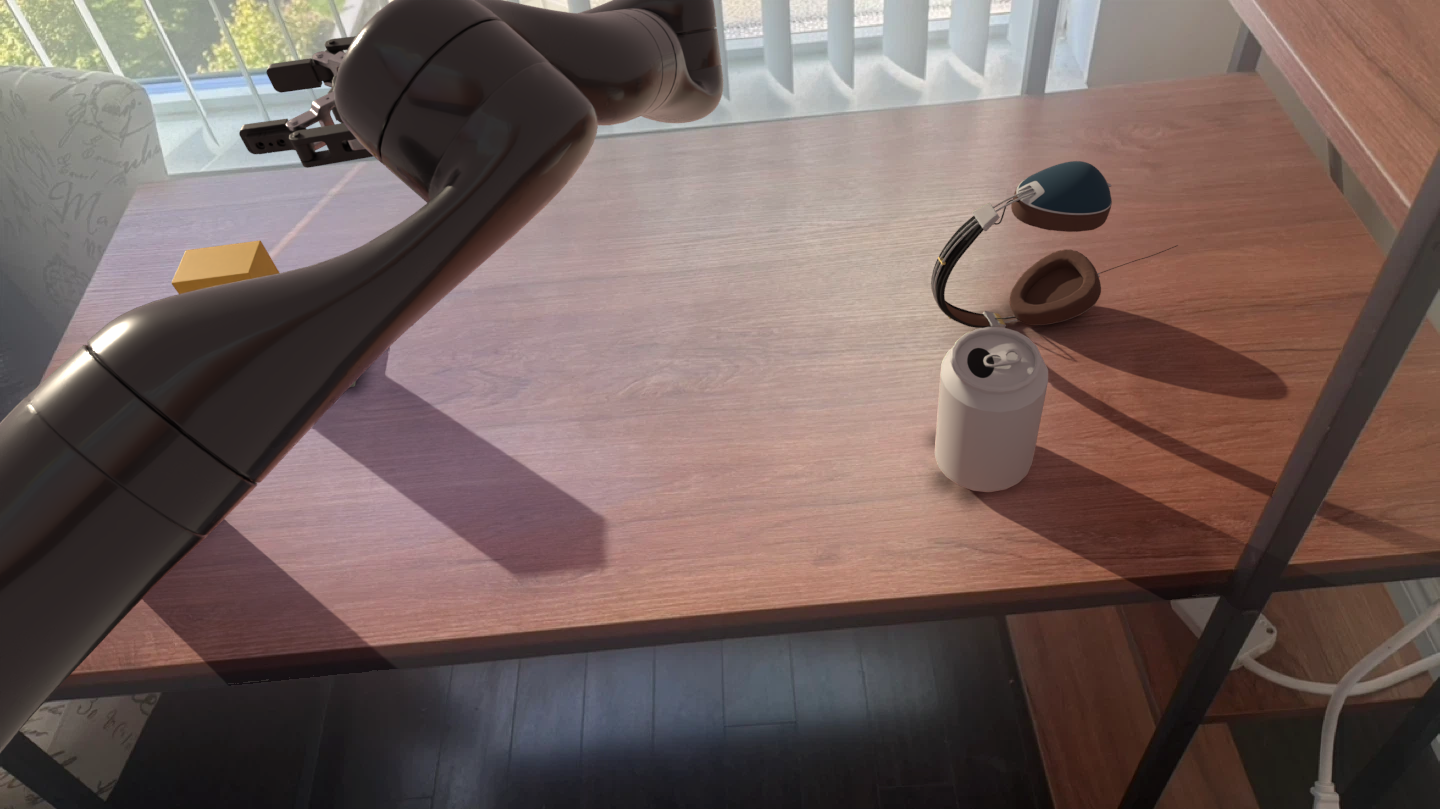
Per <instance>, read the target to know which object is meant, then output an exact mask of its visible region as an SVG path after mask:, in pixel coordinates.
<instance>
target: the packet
mask: <svg viewBox="0 0 1440 809" xmlns="http://www.w3.org/2000/svg"><path fill="white" fill-rule="evenodd" d="M279 273H280V271H279V269H278V268H277V266H276V264H275V262H274V261H273V258H272V257H271V255H270V254H269V252H268V250H267V249H266V247H265V245H264V244H263V242H262V240H260V239H259V240H252V241H245V242H236V243H229V244H222V245H215V246H214V245H213V246H207V247H199V248H190V249H185V251H184V253H183V255H182V258H181V260H180V263H179V264H178V267H177V269H176V271H175V273H174V276H173V278H172V280H171V285H172V287H173V288H174V289H175V291H176V292H177V295H178V294H182V293H186V292H190V291H194V290H199V289H203V288H207V287H212V286H217V285H222V284H227V283H232V282H237V281H242V280H248V279H253V278H258V277H263V276H268V275H274V274H279Z"/></svg>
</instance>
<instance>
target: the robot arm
mask: <svg viewBox="0 0 1440 809" xmlns="http://www.w3.org/2000/svg"><path fill="white" fill-rule="evenodd" d="M717 27H718V23H717V16H716V7H715V3H714V0H610V1H607V2H605V3H603V4H600V5H598V6H595V7H592V8H590V9H587V10H584V11H581V12H568V11H562V10H555V9H550V8H549V9H548V8H543V7H539V6H532V5H528V4H524V3H519V2H513V1H510V0H392V1H390V2H388V3H387V4H386V5H385V6H383V7H382V8H380V9H379V10H378V11H377V12H376V13H374V15H373V16H372V17H370V19H369V20H368V21H366V23H365V24H364V25H363V26H362V28H361V29H360V30H359V32H358V33H357V34H356V36H355V35H354V36H346V37H337V38H330V39H328V40H326V41H325V42H324V47H325V50H322V51H321V50H320V51H317V52H315V53H314V54H313V55H311V58H309V57H308V58H303V59H296V60H289V61H280V62H274V63H273V62H272V63H270V64H269V65H268V67H267V69H266V76H267V78H268V80H269V82H270V84H271V86H272V87H273V89H274V91H276V92H277V93H281V94H283V93H289V92H296V91H303V90H311V89H318V88H321V87H322V85H323V84H324V86H325V87H329V90H328V92H327V94H325V95H323V96H321V97H319V98H316V99H314V100H313V101H312V103H311V106H310V108H309V110H307V111H305V112H303V113H301V114H299V115H296V116H295V117H292V118H290V119H288V118H282V119H273V120H267V121H261V122H260V121H259V122H252V123H245V124H243V125H242V126H241V128H240V130H239V133H238V134H239V137H240V139H241V140H242V142H243V144H244V146H245V148H246V150H247V151H248V153H250V154H252V155H264V154H272V153H280V152H288V151H295V152H296V154H297V157H298V158H299V160H300V163H301V165H302V166H303V168H315V167H320V166H327V165H332V164H338V163H344V162H350V161H351V162H352V161H355V160H362V159H368V158H375V159H376V160H377V161H379V162H380V164H382V165H383V166H384V167H385V168H387V169H388V170H389V171H390V172H391V173H392V174H393V175H394V176H395V177H397V178H398V179H399V180H400V181H401V182H402V183H404V184H405V185H406V186H407V187H408V188H410V189H411V190H412V192H414V193H415V194H416V195H417V196H419V198H421V199H422V200H423V201H425V204H424V205H423V206H421V208H419V209H418V210H416V211H415V212H414V213H412V214H411V215H409V216H408V217H407V218H405V219H404V220H402V221H401V222H400V223H398V224H397V225H395V226H393V227H391V228H390V229H388V230H386V231H385V232H383V233H381V234H379V235H378V236H376V237H374V238H372V239H371V240H370V241H368V242H366V243H365V244H363V245H360V246H359V247H356V248H354V249H351V250H349V251H347V252H345V253H342V254H340V255H337V256H334V257H332V258H329V259H326V260H323V261H320V262H318V263H314V264H311V265H308V266H304V267H300V268H299V267H298V268H295V269H292V270H287V271H283V272H279V274H274V275H268V276H263V277H258V278H253V279H248V280H242V281H237V282H232V283H227V284H222V285H217V286H212V287H207V288H203V289H199V290H194V291H190V292H186V293H182V294H178V293H177V294H174V295H170V296H166V297H163V298H161V299H157V300H153V301H151V302H148V303H145V304H143V305H140V306H137V307H134V308H132V309H131V310H128V311H126V312H124V313H122V314H119V316H117V317H115V318H114V319H112V320H111V321H109V322H107V323H106V324H105V325H104V326H103V327H102V328H101V329H99V330H98V331H97V332H96V333H95V334H93V335H92V336H91V337H90V338H89V339H88V340H87V341H86V343H87V344H83V345H82V346H81V347H80V348H78V349H77V350H76V351H74V353H73V354H72V355H70V356H69V357H68V358H67V360H66V359H65V361H64V362H63V363H62V364H61V365H60V366H59V367H57V368H56V369H55V370H54V371H53V372H52V373H51V374H50V375H49V376H47V377H46V378H45V379H44V380H43V381H42V382H41V383H40V384H39V385H37V386H36V387H35V388H34V389H33V390H31V392H30V393H29V394H28V395H26V396H25V397H24V398H22V400H21V401H20V402H19V403H17V404H16V405H15V406H14V408H12V409H11V411H10V412H9V413H8V414H7V415H6V416H5V417H4V418H3V419H2V420H1V421H0V754H1V753H2V752H3V751H4V749H5V748H6V747H7V746H8V745H9V744H10V743H11V741H12V740H13V739H14V737H15V736H16V735H17V734H18V733H19V732H20V731H21V730H22V728H23V727H24V726H25V725H26V724H27V722H28V721H29V720H30V719H31V718H32V717H33V716H34V714H36V712H37V711H38V710H39V709H40V708H41V707H43V705H44V704H45V702H47V700H49V698H50V697H51V696H52V695H53V694H54V693H55V692H56V691H57V690H58V688H60V687H61V685H62V684H63V683H64V682H65V681H66V680H67V679H68V678H69V677H70V676H71V675H72V674H73V672H75V670H77V668H79V666H81V665H82V663H83V662H84V661H85V660H86V659H88V657H89V656H90V655H91V653H93V652H94V650H96V649H97V647H98V646H99V645H100V644H101V643H102V642H103V640H105V639H106V638H107V636H109V634H111V632H112V631H113V630H115V629H116V627H117V626H118V625H119V624H120V623H121V621H122V620H124V618H125V617H126V616H127V615H128V614H130V612H131V611H132V610H133V609H134V608H135V607H136V606H137V605H138V604H139V603H140V602H141V601H142V600H143V599H144V597H146V596H147V594H149V593H150V591H151V590H152V589H154V587H155V586H157V584H158V583H160V582H161V580H162V579H164V578H165V576H167V575H168V574H169V573H170V572H171V571H172V570H173V569H174V568H175V567H176V566H177V565H178V564H180V562H182V561H183V560H184V559H185V558H186V557H187V556H188V555H189V554H190V553H191V552H193V550H194V549H195V548H197V547H198V546H199V545H200V544H201V543H202V542H203V541H205V539H206V538H207V537H208V536H209V535H210V534H211V533H212V532H213V531H214V530H215V529H216V528H217V527H218V526H219V525H220V524H221V523H222V522H223V521H224V520H225V519H226V518H227V517H228V516H229V515H230V514H231V513H232V512H233V511H234V510H235V509H236V508H237V507H238V506H239V505H240V504H241V503H242V501H244V500H245V498H247V497H248V496H249V495H250V494H251V493H252V492H253V491H254V490H255V489H256V488H257V486H258V484H259V483H262V482H263V481H264V480H265V478H266V477H268V475H269V474H270V473H271V472H273V470H274V469H275V468H276V466H278V464H280V462H281V461H282V460H283V459H284V458H285V457H286V456H288V454H289V452H291V450H292V449H293V448H294V447H295V446H296V445H297V444H298V443H299V442H300V441H301V440H302V439H303V437H305V436H306V434H307V433H308V432H309V431H310V430H311V429H312V428H313V427H314V425H316V423H317V422H319V420H320V419H321V418H322V417H323V416H324V415H325V414H326V413H327V412H328V411H329V409H330V408H331V407H332V406H333V405H334V404H336V402H337V401H338V400H339V399H340V398H341V397H342V396H343V395H344V394H345V393H346V392H347V390H348V389H350V388H351V387H350V386H351V385H352V384H353V383H354V382H355V381H356V382H357V381H358V379H359V378H360V377H361V376H362V375H363V374H364V373H365V372H366V371H367V370H369V368H370V367H371V366H372V365H373V364H374V363H375V362H376V361H377V360H378V359H379V358H380V357H381V356H382V355H383V354H384V353H385V352H386V351H387V350H388V349H389V348H390V347H391V346H392V345H393V344H394V343H395V342H397V341H398V339H400V338H401V337H402V336H403V335H404V334H405V333H406V332H407V331H408V330H409V329H410V328H411V327H412V326H413V325H415V324H416V323H417V322H418V321H419V320H420V319H421V318H423V317H424V315H426V314H427V313H428V312H429V311H430V310H432V309H433V308H434V307H435V306H436V305H437V304H438V303H439V302H440V301H442V300H443V299H444V298H445V297H446V296H448V295H449V294H450V293H451V292H452V291H454V289H455V288H457V287H458V286H459V285H460V284H461V283H463V281H464V280H466V279H467V278H468V277H469V276H470V275H471V274H472V273H474V272H475V271H476V270H477V269H478V268H479V267H481V265H483V264H484V263H485V262H486V261H487V260H488V259H489V258H491V257H492V256H493V255H494V254H495V253H496V252H497V251H499V249H501V248H502V247H503V246H504V245H505V244H507V243H508V242H509V241H510V240H511V239H513V237H514V236H516V234H517V233H518V232H520V231H521V230H522V229H523V228H525V226H526V225H527V224H528V223H529V222H531V221H532V220H533V219H534V218H535V217H536V216H537V215H539V213H540V212H541V211H543V210H544V209H545V208H546V206H548V204H549V203H551V202H552V200H553V199H554V198H555V197H556V196H558V194H559V193H560V192H561V191H562V190H563V189H564V188H565V187H566V186H567V184H568V183H569V182H570V180H572V178H573V177H574V176H575V174H576V173H577V172H578V170H579V169H580V167H581V166H582V164H583V163H584V161H585V160H586V159H587V157H588V155H589V153H590V152H591V149H592V148H593V146H594V143H595V140H596V138H597V134H598V127H599V126H613V125H619V124H624V123H627V122H629V121H632V120H634V119H638V118H640V117H642V118H645V119H647V120H650V121H654V122H660V123H663V124H664V123H665V124H685V123H686V124H687V123H692V122H696V121H698V120H701V119H704V118H706V117H707V116H709V115H711V113H713V112H714V111H715V110H716V108H717V107H718V105H719V104H720V102H721V100H722V97H723V92H724V74H723V66H722V58H721V57H722V56H721V49H720V40H719V34H718V28H717ZM345 51H346V52H345ZM331 112H332V114H333V116H334V118H335V121H337V122H338V123H336V124H335V122H334V119H333V118H332V115H331ZM317 123H319V125H320V126H317V127H312V128H308V127H311V126H312V125H314V124H317ZM324 147H327V149H324V150H320V149H321V148H324Z"/></svg>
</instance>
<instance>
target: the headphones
mask: <svg viewBox="0 0 1440 809" xmlns="http://www.w3.org/2000/svg"><path fill="white" fill-rule="evenodd" d="M1111 187H1112V184H1111V183H1109V182H1108V181H1107V180H1106V178H1105V176H1104V175H1103V174H1102V172H1101V171H1100V170H1099V169H1098V168H1097V167H1096V166H1094V165H1093V164H1091V163H1089V162H1087V161H1081V160H1071V161H1065V162H1062V163H1061V162H1060V163H1058V164H1054V165H1052V166H1049V167H1047V168H1044V169H1042V170H1040V171H1037V172H1035V173H1033V174H1030V175H1029V176H1028V177H1026V178H1024V179H1023V180H1022V181H1021V182H1020V183H1019V184H1017V187H1016V188H1015V191H1014V193H1013V195H1011V196H1009V197H1007V198H1006V199H1003V200H1001V201H999V202H998V203H996V204H995V205H992V204H991V203H990V202H988V203H986V204H984V205H982V206H980V207H978V208H976V209H974V210H973V211H971V213H972V216H971V217H970V218H969V219H968V220H967V221H965V222H964V223H963V224H962V225H961V226H960V227H959V228H958V229H957V230H956V231H955V233H954V234H953V235H952V236H951V237H950V239H949V240H948V241H947V243H946V244H945V246H944V247H943V249H942V250H941V252H940V253H939V255H938V256H937V259H936V261H935V264H934V267H933V270H932V275H931V280H930V288H931V293H932V296H933V299H934V301H935V303H936V305H937V306H938V308H939V309H940V311H941V312H943V313H944V315H946V316H947V318H948V319H949V320H953V321H954V322H957V323H959V324H961V325H964V326H967V327H970V328H976V329H979V328H985V327H1002V328H1006V327H1007V324H1010V323H1015V322H1020V323H1022V324H1025V325H1030V326H1042V325H1043V326H1044V325H1052V324H1057V323H1061V322H1065V321H1068V320H1071V319H1074V318H1076V317H1078V316H1081V315H1083V314H1084V313H1086V312H1088V311H1089V310H1090V309H1091V308H1093V307H1094V306H1095V305H1096V304H1097V302H1098V301H1099V299H1100V297H1101V294H1102V285H1101V284H1102V283H1101V280H1100V277H1101V276H1100V274H1103V273H1105V272H1108V271H1111V270H1114V269H1117V268H1119V267H1123V266H1125V265H1127V264H1131V263H1134V262H1137V261H1140V260H1144V259H1147V258H1151V257H1153V256H1156V255H1158V254H1161V253H1164V252H1166V251H1169V250H1171V249H1174V248H1175V247H1179V245H1178V244H1177V245H1174V246H1172V247H1170V248H1166V249H1164V250H1162V251H1159V252H1156V253H1153V254H1151V255H1149V256H1145V257H1142V258H1139V259H1135V260H1132V261H1129V262H1126V263H1123V264H1120V265H1118V266H1115V267H1112V268H1109V269H1106V270H1104V271H1101V272H1098V271H1097V269H1096V267H1095V266H1094V264H1093V263H1092V262H1091V260H1090V259H1089V258H1088V257H1087V256H1086V255H1084V254H1083V253H1081V252H1080V251H1078V250H1074V249H1063V250H1061V249H1060V250H1057V251H1054V252H1052V253H1049V254H1047V255H1046V256H1044V257H1042V258H1041V259H1039V260H1038V261H1036V262H1035V263H1034V264H1033V265H1031V266H1030V267H1029V268H1027V270H1025V271H1024V272H1023V273H1022V274H1021V276H1020V277H1019V278H1018V279H1017V281H1016V282H1015V284H1014V286H1013V287H1012V289H1011V291H1010V294H1009V299H1008V300H1009V301H1008V304H1009V307H1010V309H1011V312H1012V314H1013V315H1011V316H1005V317H1002V315H1000V313H997V312H994V311H988V310H984V311H982V313H979V312H974V311H971V310H967V309H964V308H960V307H959V306H955V305H953V304H951V303H950V302H948V301H947V300H946V299H945V294H946V293H945V292H946V287H947V283H948V280H949V278H950V276H951V273H952V271H953V270H954V268H955V266H957V263H958V262H959V260H960V259H961V258H962V257H963V255H964V254H965V252H966V251H968V249H969V248H970V247H971V246H972V245H973V243H974V242H975V241H976V240H977V238H978V237H979V236H980V235H981V234H982V232H987V231H989V229H990V228H991V227H992V226H994V225H1000V224H1001V223H1002V221H1003V218H1004V215H1005V212H1006V209H1007V207H1009V206H1010V207H1011V208H1010V210H1011V213H1012V215H1013V216H1014V217H1015V218H1016V219H1017V220H1019V221H1020V222H1021V223H1023V224H1025V225H1028V226H1031V227H1035V228H1039V229H1042V230H1048V231H1054V232H1055V231H1056V232H1065V233H1066V232H1067V233H1078V232H1087V231H1094V230H1096V229H1098V228H1100V227H1102V226H1103V225H1104V224H1106V221H1107V220H1108V217H1109V214H1110V212H1111V209H1112V204H1113V200H1112V195H1111V190H1110V188H1111ZM1004 203H1005V204H1004ZM1002 204H1004V205H1002ZM1000 205H1002V206H1000ZM998 206H1000V207H998ZM997 207H998V208H997ZM995 208H996V209H995ZM1001 210H1003V211H1002V214H1001V216H1000V215H999V214H998V213H997V212H999V211H1001ZM1000 217H1001V218H1000ZM998 220H999V221H998ZM1009 319H1012V320H1009ZM1004 320H1007V321H1004Z"/></svg>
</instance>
